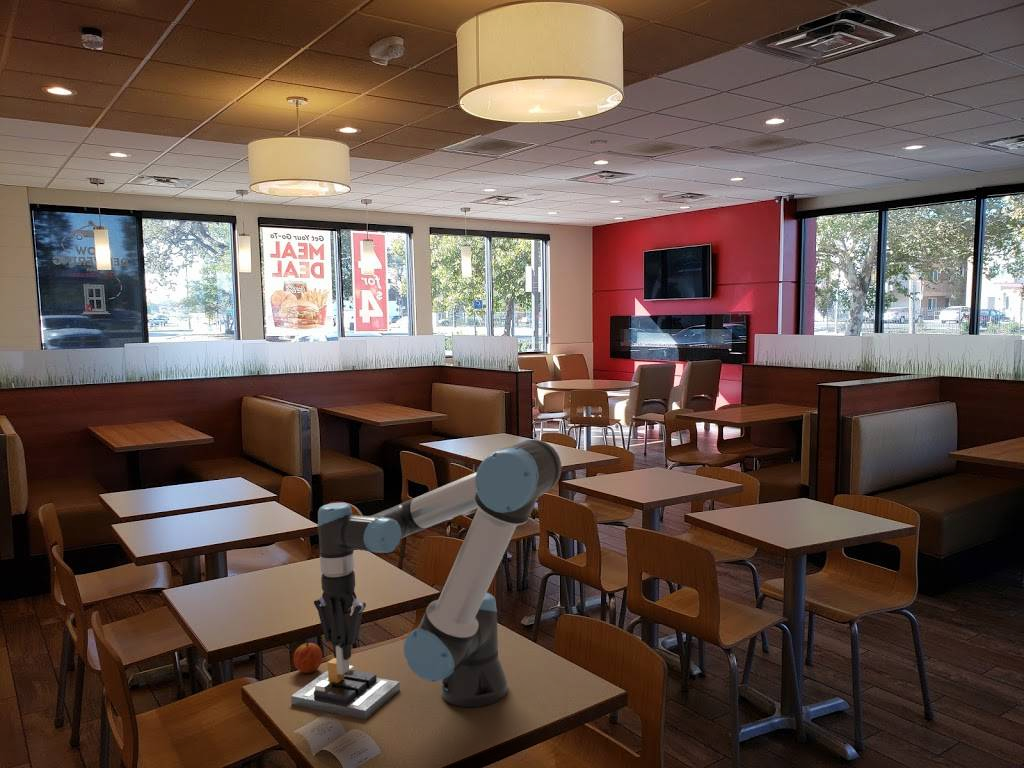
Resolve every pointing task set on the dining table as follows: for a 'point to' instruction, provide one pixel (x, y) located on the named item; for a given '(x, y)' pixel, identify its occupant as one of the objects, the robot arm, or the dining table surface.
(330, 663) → the block
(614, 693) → the dining table surface
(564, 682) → the dining table surface
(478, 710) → the dining table surface
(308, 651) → the fruit
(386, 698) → the panel
